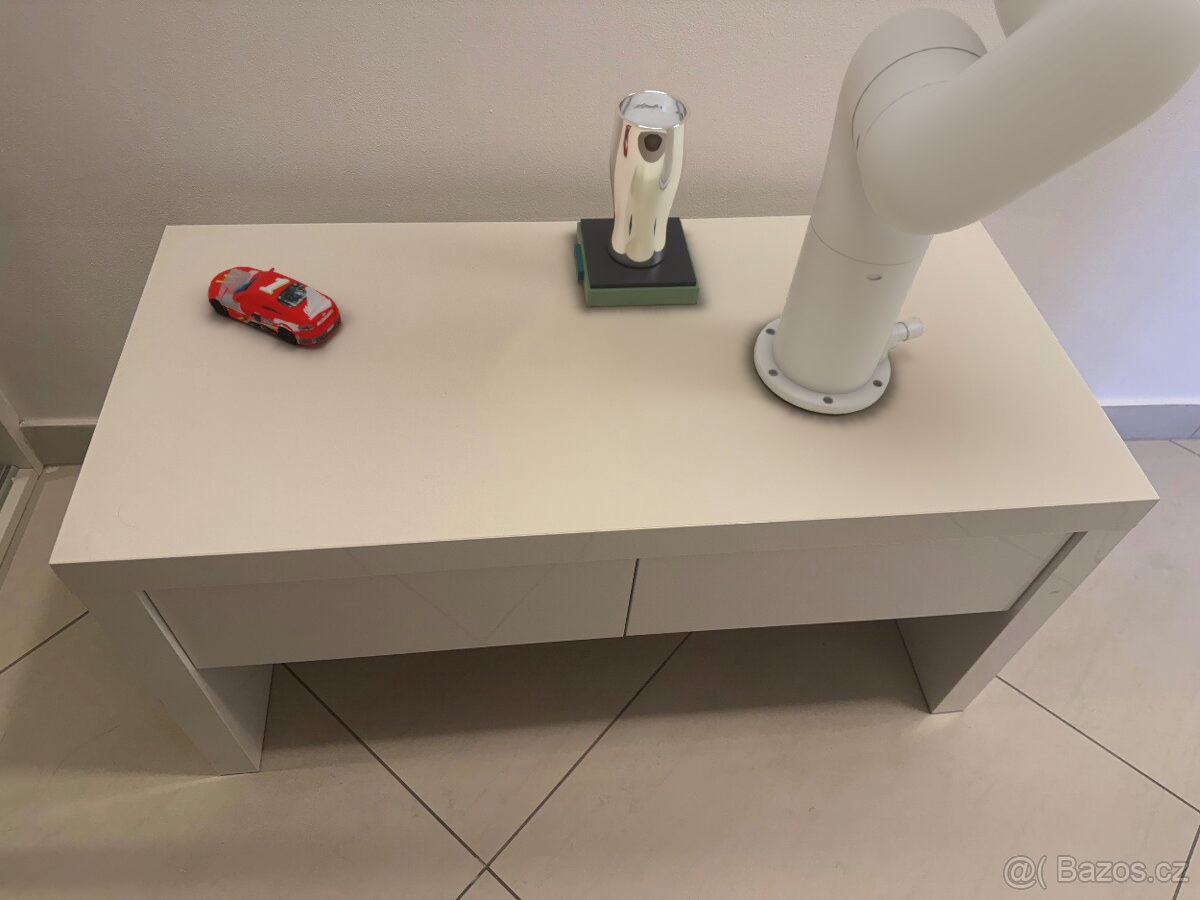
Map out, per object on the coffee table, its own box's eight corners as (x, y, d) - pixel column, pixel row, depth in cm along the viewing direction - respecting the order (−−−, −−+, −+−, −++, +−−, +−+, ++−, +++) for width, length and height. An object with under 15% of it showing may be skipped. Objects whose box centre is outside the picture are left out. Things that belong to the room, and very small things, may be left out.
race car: (200, 308, 81) (186, 274, 78) (240, 276, 84) (229, 242, 81) (313, 357, 77) (303, 324, 74) (350, 322, 81) (342, 289, 78)
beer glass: (665, 276, 84) (687, 135, 72) (596, 264, 84) (606, 122, 73) (676, 234, 88) (697, 95, 76) (609, 222, 89) (621, 82, 77)
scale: (678, 235, 92) (681, 215, 90) (696, 303, 85) (700, 283, 83) (570, 237, 91) (571, 216, 89) (580, 307, 84) (581, 286, 82)
